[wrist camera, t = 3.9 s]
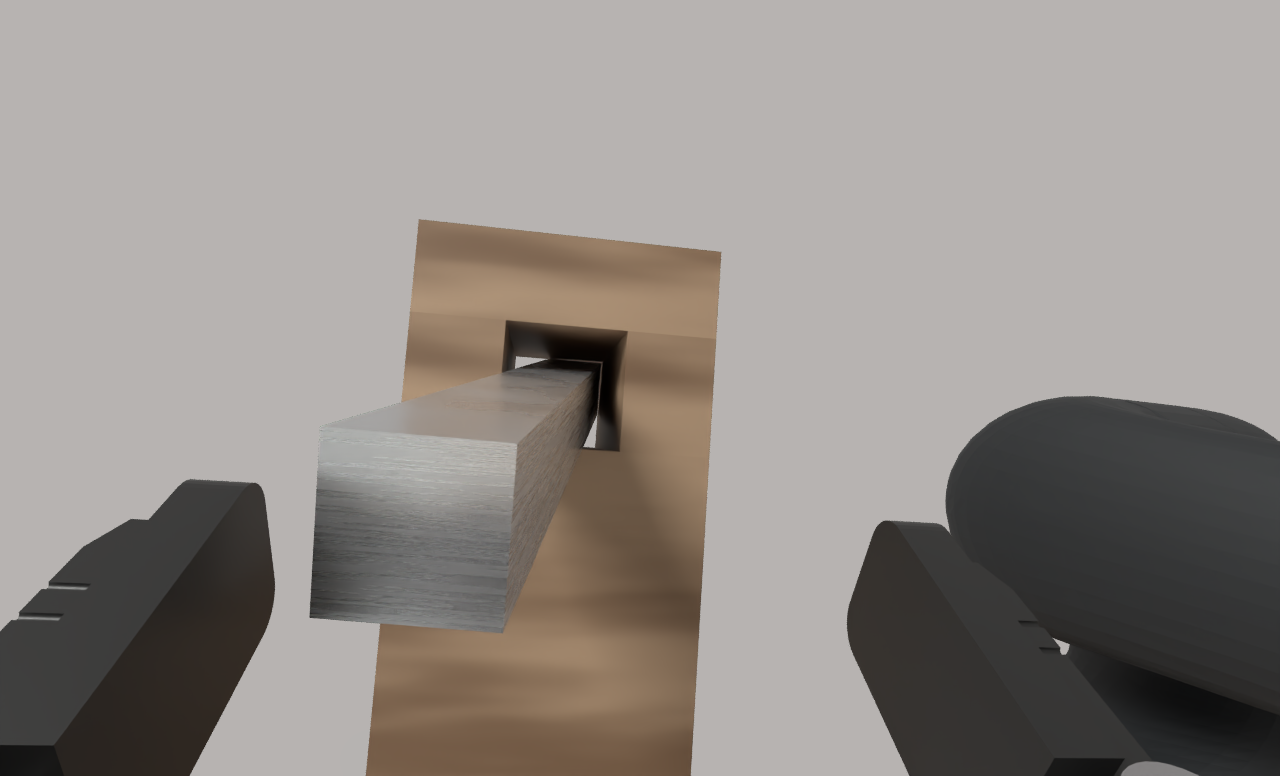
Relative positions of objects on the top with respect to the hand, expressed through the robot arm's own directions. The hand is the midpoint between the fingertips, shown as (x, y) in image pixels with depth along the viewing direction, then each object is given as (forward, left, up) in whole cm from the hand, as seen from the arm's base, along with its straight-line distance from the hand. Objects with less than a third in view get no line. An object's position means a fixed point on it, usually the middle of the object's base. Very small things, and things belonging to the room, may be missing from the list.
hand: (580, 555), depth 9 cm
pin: (-5, -10, +1) cm, 12 cm away
